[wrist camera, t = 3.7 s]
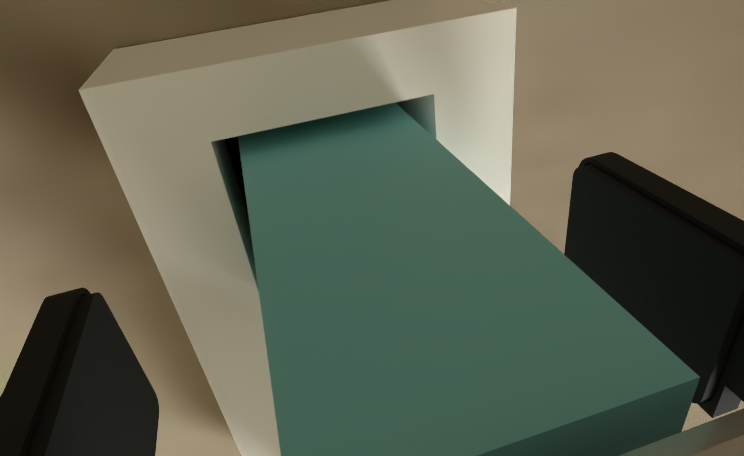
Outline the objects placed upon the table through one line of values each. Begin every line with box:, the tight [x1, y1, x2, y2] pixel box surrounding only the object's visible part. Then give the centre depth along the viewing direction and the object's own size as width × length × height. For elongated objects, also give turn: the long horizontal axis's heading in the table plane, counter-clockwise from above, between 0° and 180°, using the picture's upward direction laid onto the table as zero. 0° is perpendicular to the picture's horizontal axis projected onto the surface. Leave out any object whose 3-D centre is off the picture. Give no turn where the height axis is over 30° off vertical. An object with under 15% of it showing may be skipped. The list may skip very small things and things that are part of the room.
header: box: [78, 0, 516, 456], centre depth 16 cm, size 17×9×4 cm, turn 7°
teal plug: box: [238, 103, 700, 456], centre depth 10 cm, size 4×4×12 cm
